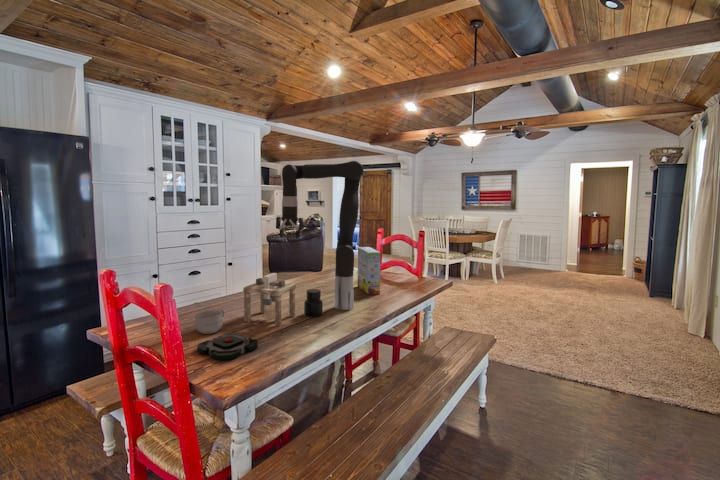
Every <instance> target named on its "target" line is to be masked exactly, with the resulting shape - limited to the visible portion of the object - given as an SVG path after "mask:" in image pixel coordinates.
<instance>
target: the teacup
mask: <svg viewBox="0 0 720 480" xmlns="http://www.w3.org/2000/svg"><path fill="white" fill-rule="evenodd" d="M224 316H225V311H224V309H216V310H215V309H211V310H210V309H209V310H204V311H201V312H197V313H196V314H194V319H195V322H194V323H195V326H196V330H197V331H198V332H199V333H200V334H202V335H203V334H204V335H210V334H215V333H217V332H218V331H220V330H221V329H222V327H223V318H224Z"/></svg>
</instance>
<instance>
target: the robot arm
mask: <svg viewBox="0 0 720 480" xmlns="http://www.w3.org/2000/svg"><path fill="white" fill-rule="evenodd" d="M363 173H364V166H363V165H362V163H360V162H359V161H358V160H351V161H348V162H342V163H333V164H331V163H329V164H328V163H327V164H325V163H321V164H320V163H319V164H318V163H314V164H313V163H308V164H302V165H301V164H300V165H297V164H296V165H293V164H285V165H284V166H283V167H282V170H281V177H282V200H281V205H282V206H281V207H282V208H281V215H282V216H276V220H275V221H276V222H275V229H277V230H279V237H280V238H281V239H283V238H285V230H284V229H285V228H286V227H288V226H289V227H293V228H294V229H295V239H300V237H301V231H304V229H305V226H304V225H305V224H304V223H305V222H304V218H303V217H298V187H297V180H301V179H302V180H303V179H305V180H308V179H309V180H313V179H315V180H316V179H325V178H344V188H343V193H342V197H341V202H340V208H339V209H340V210H339V224H338V226H339V229H338V231H339V233H338V240H337V244H336V245H337V246H336V249H335V270H334V272H335V273H334V277H335V278H334V309H335V310H338V311H351V310H352V309H353V308H354V306H355V305H354V304H355V303H354V302H355V299H354V298H355V289H354V271H355V270H354V269H355V268H354V267H355V251H354V246H353V245H354V234H355V231H356V230H355V229H356V225H357V223H358V217H359V207H360V206H359V205H360V203H359V202H360V201H359V189H360V183H361V178H362V175H363ZM281 222H282V223H281ZM298 223H299V224H298Z"/></svg>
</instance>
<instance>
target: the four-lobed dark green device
mask: <svg viewBox="0 0 720 480" xmlns="http://www.w3.org/2000/svg"><path fill="white" fill-rule="evenodd" d="M258 347H259V340H258V339H255V338H253V337H247V336H245V335H243V334H239V333H226V334H222V335H220V336H218V337H214V338H212V339H211V340H209V339H207V340H205V341H202V342H200V343H198V344H197V346H196V352H197V353H201V354H203V355H204V354H205V355H206V354H208V356H210V357H212V358H214V359H217V360H220V361H221V360H232V359H234V358H236V357H238V356H240V355H243V354H245V352H246V351H248V352H251V351H252V350H255V349H257V348H258Z"/></svg>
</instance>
